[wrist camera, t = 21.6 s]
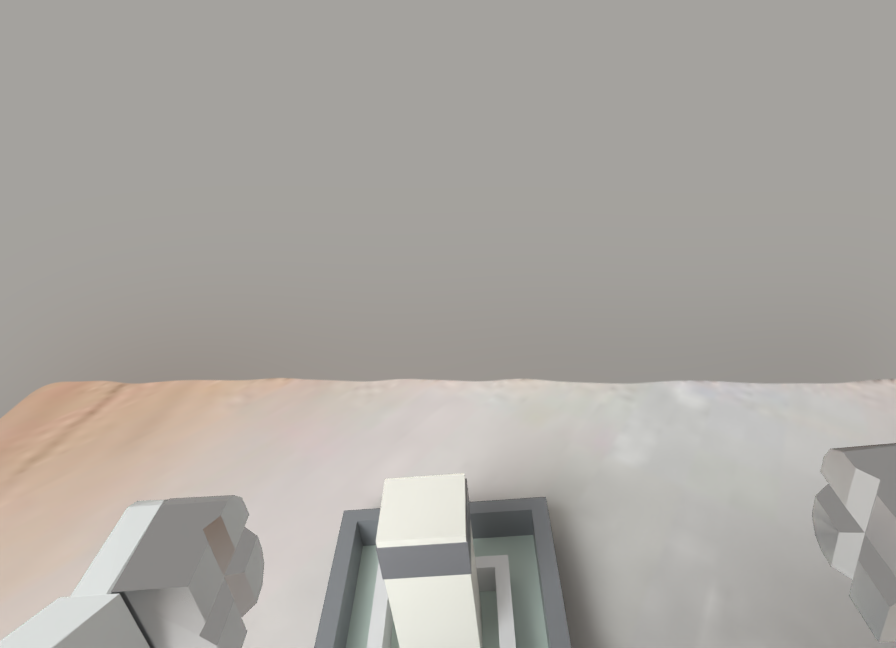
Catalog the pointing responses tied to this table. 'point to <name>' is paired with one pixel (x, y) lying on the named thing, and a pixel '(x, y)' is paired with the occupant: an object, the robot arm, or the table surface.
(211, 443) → the table surface
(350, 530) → the walled box
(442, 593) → the plastic plug
